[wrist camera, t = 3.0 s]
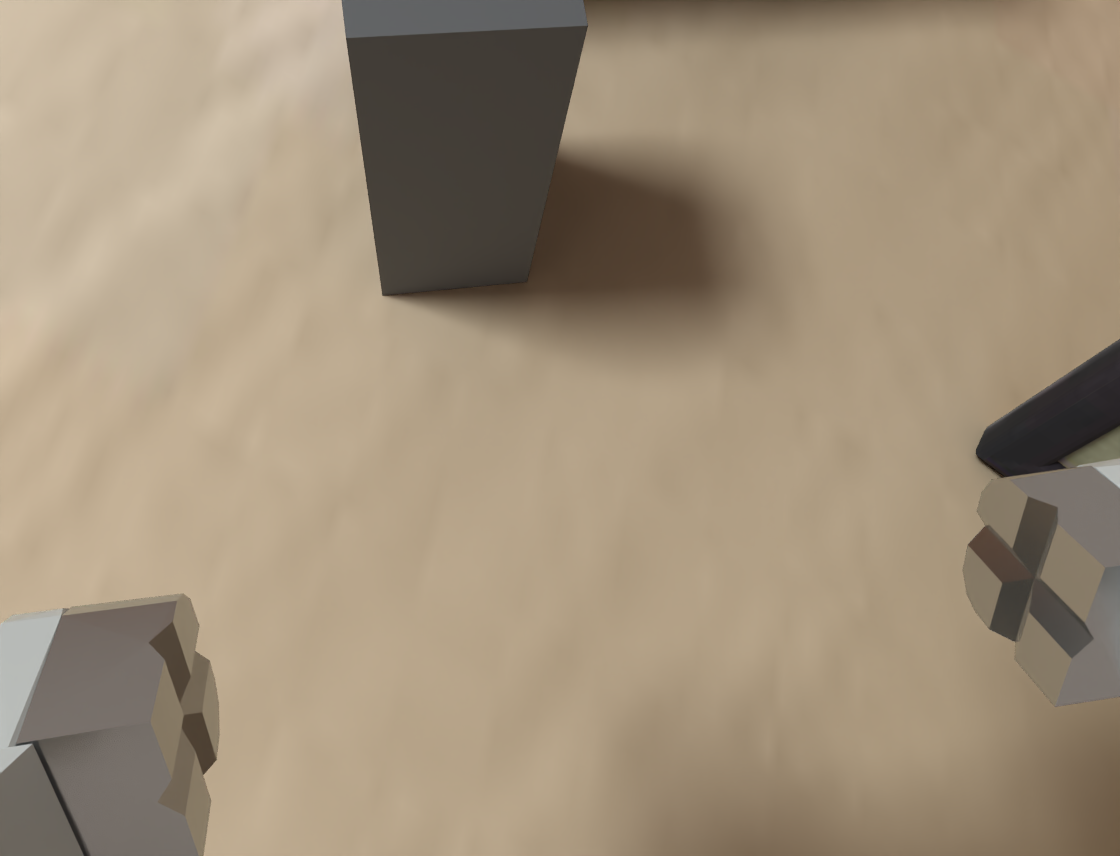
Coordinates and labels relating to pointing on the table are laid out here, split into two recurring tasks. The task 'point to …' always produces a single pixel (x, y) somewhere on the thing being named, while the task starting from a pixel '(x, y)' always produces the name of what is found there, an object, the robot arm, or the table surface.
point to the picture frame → (1061, 422)
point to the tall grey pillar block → (460, 131)
